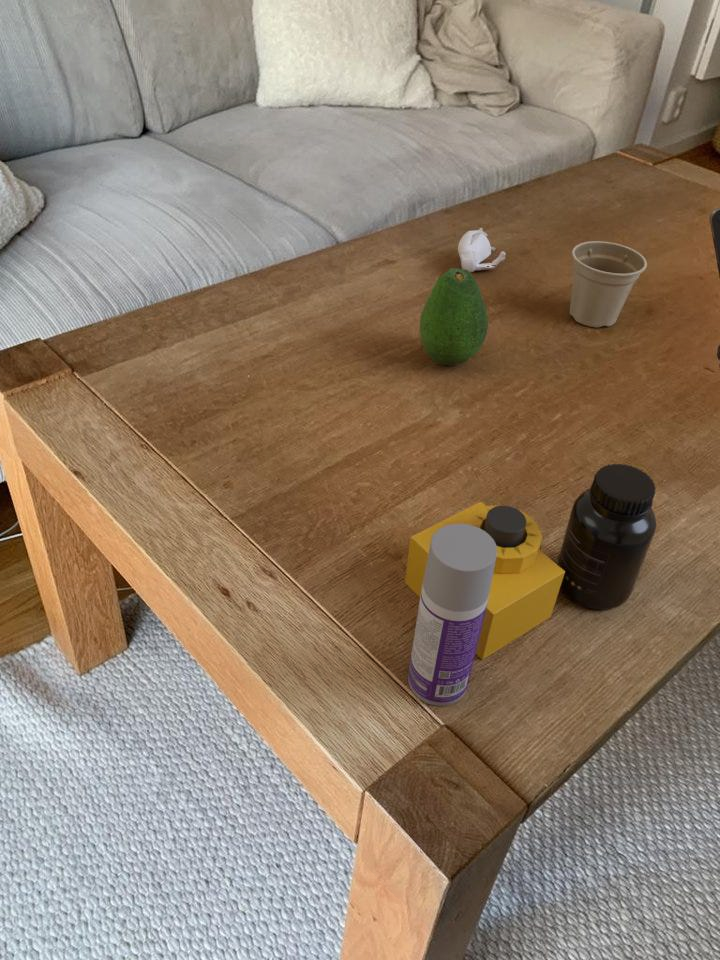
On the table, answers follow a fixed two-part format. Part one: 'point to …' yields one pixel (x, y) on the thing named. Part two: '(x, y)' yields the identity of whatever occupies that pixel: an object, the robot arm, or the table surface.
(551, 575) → the yellow knob cube
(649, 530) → the supplement bottle
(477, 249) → the figurine
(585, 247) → the flower pot
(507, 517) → the dark grey push button
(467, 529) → the container
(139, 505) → the table surface
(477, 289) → the fruit
